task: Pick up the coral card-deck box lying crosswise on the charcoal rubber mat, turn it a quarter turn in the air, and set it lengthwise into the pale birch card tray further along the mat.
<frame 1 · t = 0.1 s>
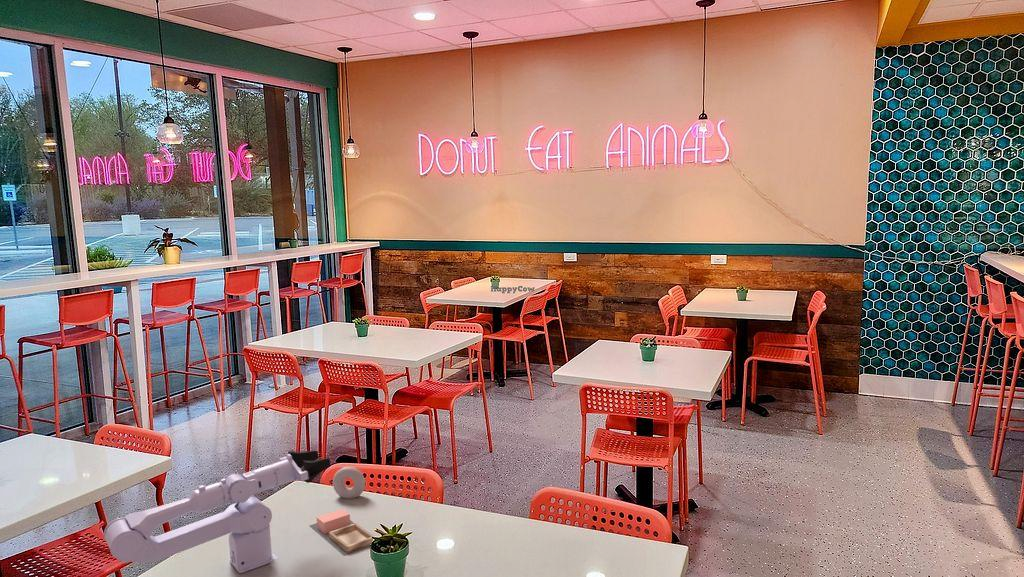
hand: (323, 458, 179), 22 cm above the table, tool horizontal, fingers open, 7 cm apart
donut: (350, 499, 205), on the table
card deck: (333, 526, 185), point 1 cm above the table, touching mat
mat: (343, 535, 181), on the table
card tray: (351, 540, 177), resting on mat
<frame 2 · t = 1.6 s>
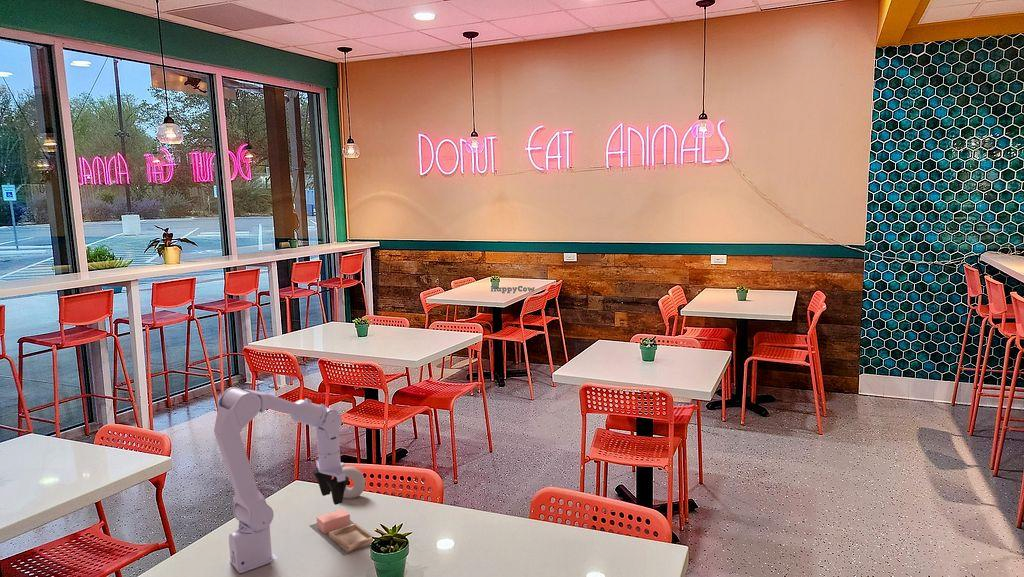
hand: (332, 499, 184), 8 cm above the table, tool pointing down, fingers open, 7 cm apart
nothing on the table moved.
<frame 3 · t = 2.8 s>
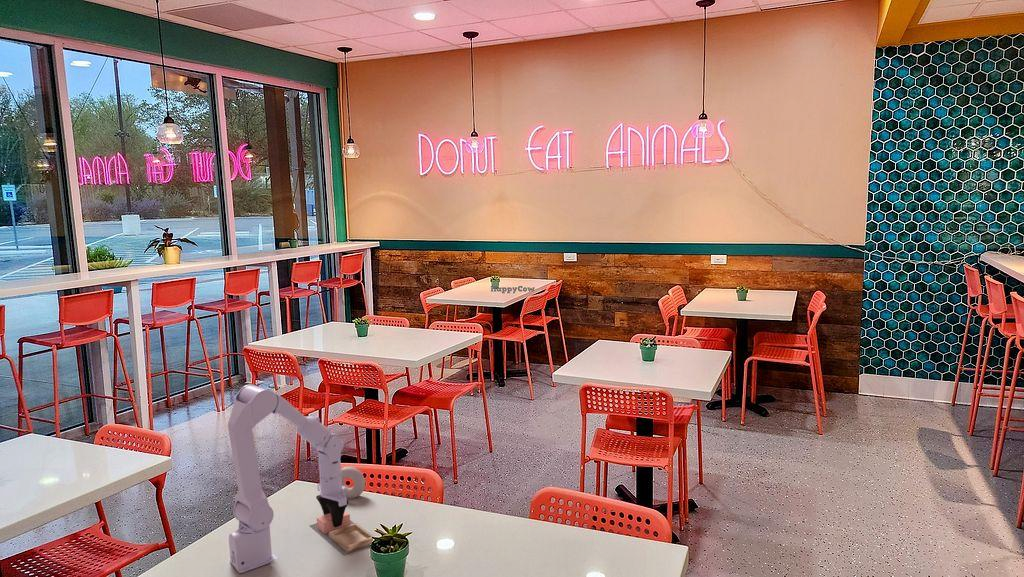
hand: (333, 522, 185), 2 cm above the table, tool pointing down, fingers closed on card deck, 5 cm apart
card deck: (333, 526, 185), point 1 cm above the table, touching gripper, mat
everything else where it was.
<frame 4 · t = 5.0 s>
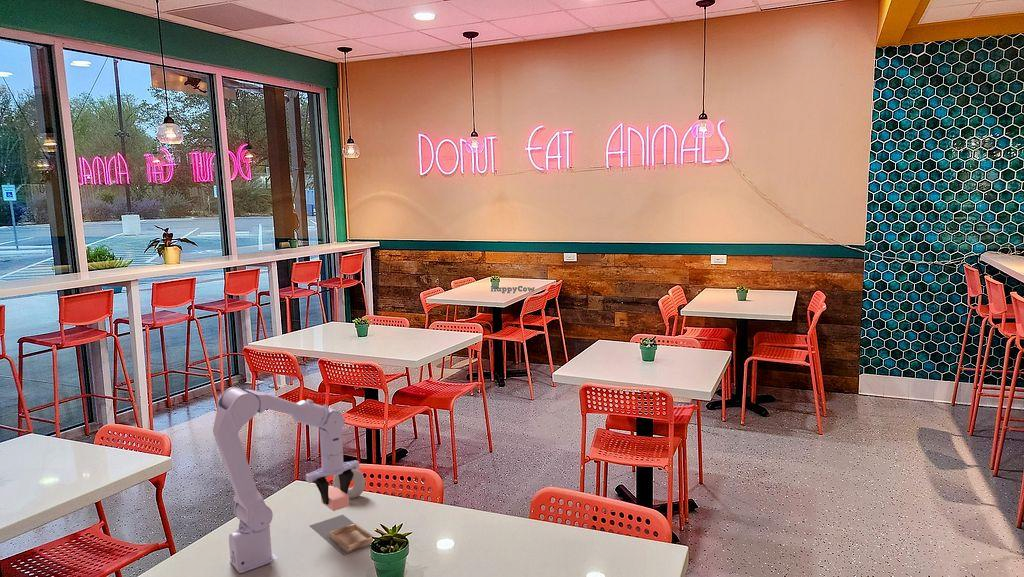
hand: (334, 500, 183), 9 cm above the table, tool pointing down, fingers closed on card deck, 5 cm apart
card deck: (335, 504, 183), point 8 cm above the table, touching gripper
everything else where it was.
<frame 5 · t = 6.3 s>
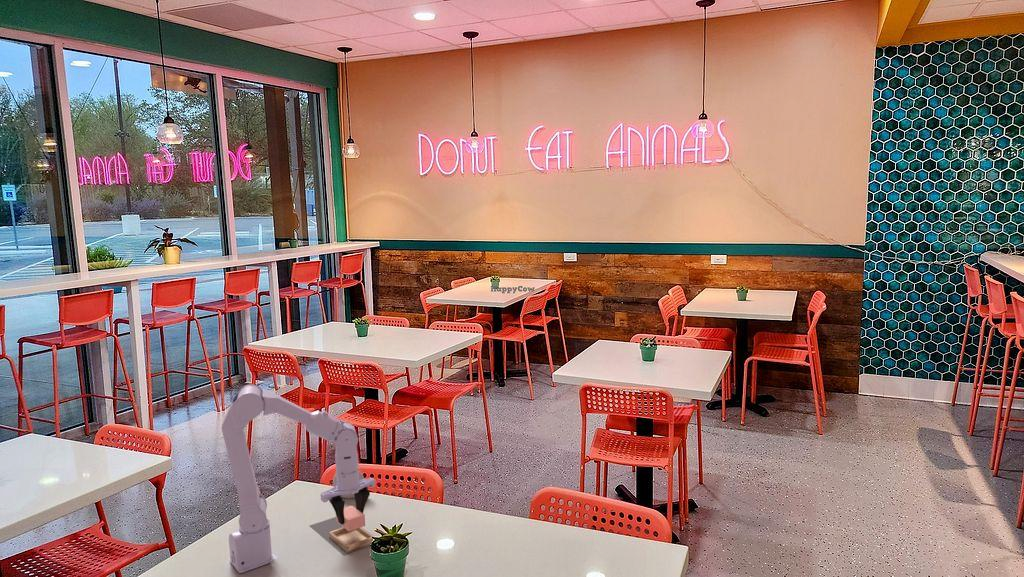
hand: (350, 519, 176), 6 cm above the table, tool pointing down, fingers closed on card deck, 5 cm apart
card deck: (350, 523, 176), point 5 cm above the table, touching gripper
everything else where it was.
when the fingers open (3 cm above the table, at t = 7.5 s): card deck stays where it is, resting on card tray.
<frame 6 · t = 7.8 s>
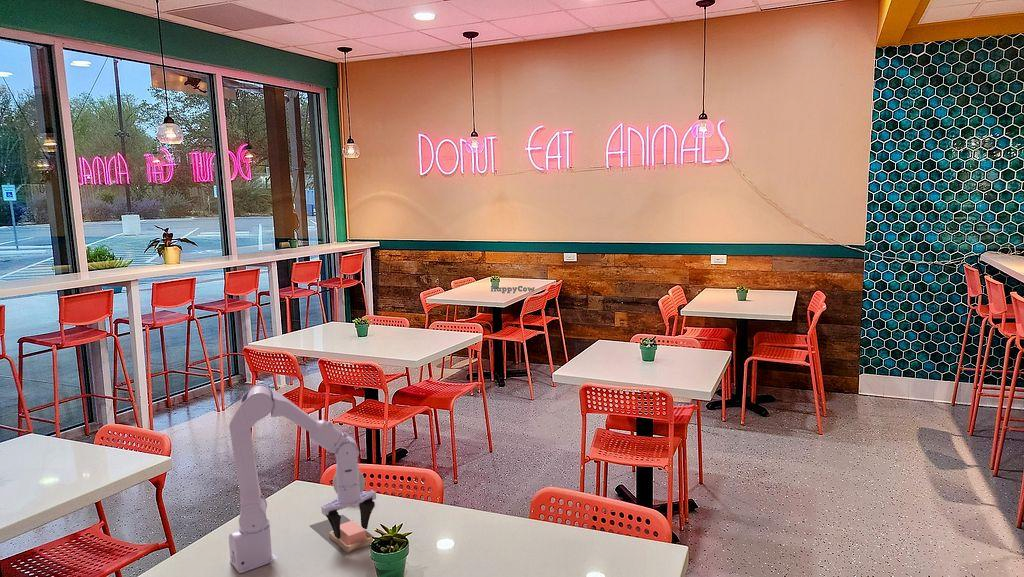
hand: (351, 532, 177), 3 cm above the table, tool pointing down, fingers open, 7 cm apart
card deck: (351, 538, 177), point 1 cm above the table, touching card tray
everything else where it was.
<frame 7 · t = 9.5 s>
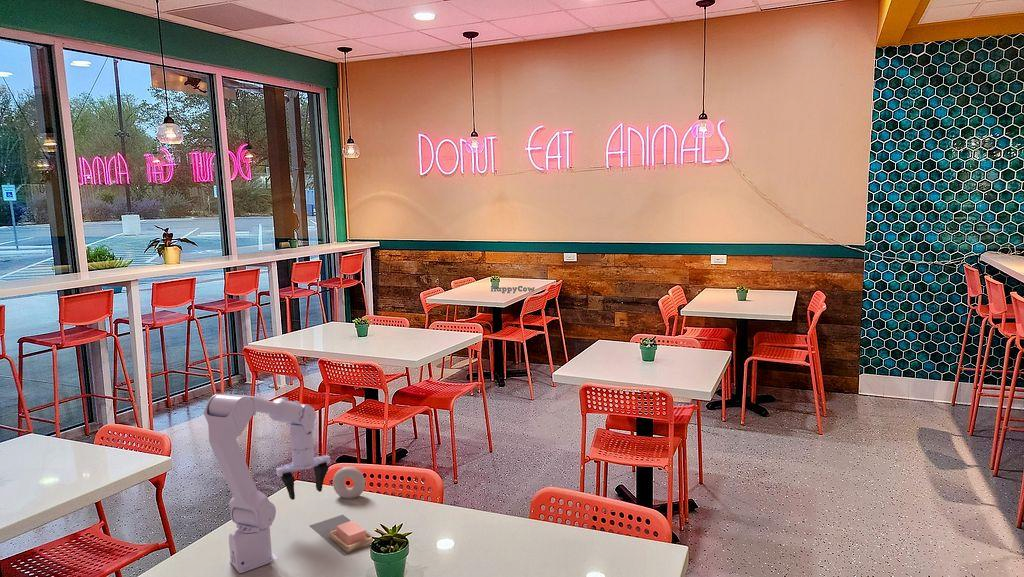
hand: (305, 494, 186), 9 cm above the table, tool pointing down, fingers open, 7 cm apart
nothing on the table moved.
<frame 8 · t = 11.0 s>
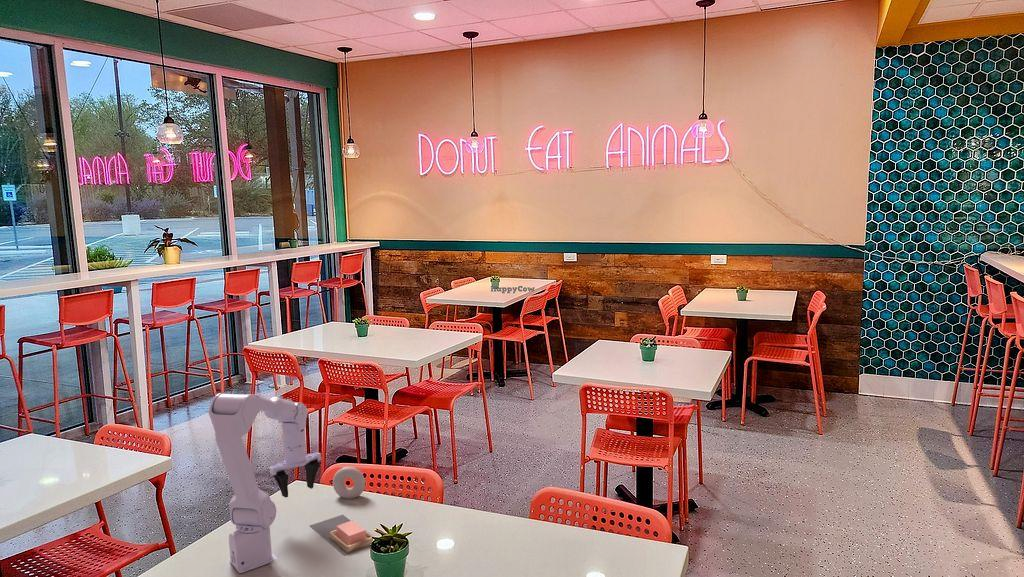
hand: (297, 491, 188), 9 cm above the table, tool pointing down, fingers open, 7 cm apart
nothing on the table moved.
at the end: card deck 0.1 cm off-centre on the card tray, point 0.4 cm above the card tray's base; card deck tilted 0°; the gripper is holding nothing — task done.
